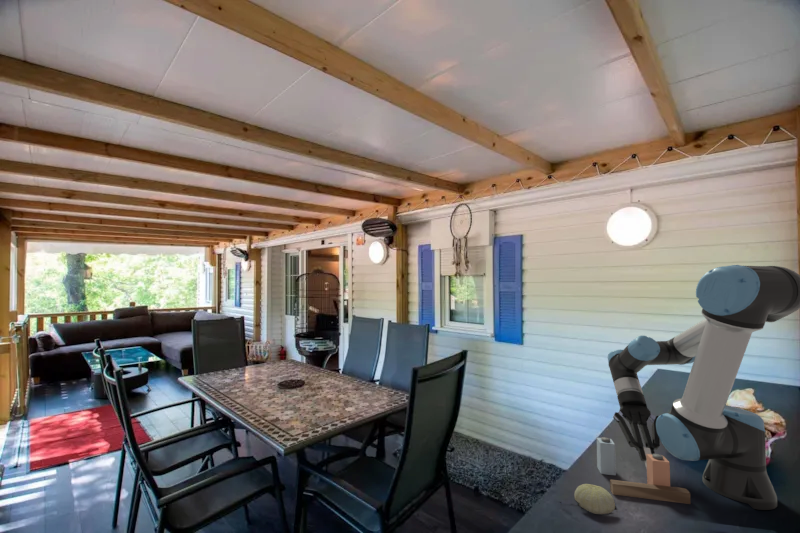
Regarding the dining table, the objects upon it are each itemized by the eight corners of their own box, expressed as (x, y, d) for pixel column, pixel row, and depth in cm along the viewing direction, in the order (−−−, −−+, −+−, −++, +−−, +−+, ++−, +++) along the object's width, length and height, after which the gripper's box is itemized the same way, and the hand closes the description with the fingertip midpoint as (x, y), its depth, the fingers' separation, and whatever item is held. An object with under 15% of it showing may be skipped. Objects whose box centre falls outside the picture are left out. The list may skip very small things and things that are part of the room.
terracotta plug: (647, 486, 102) (646, 451, 103) (663, 488, 101) (662, 453, 102) (653, 494, 98) (652, 458, 99) (670, 497, 97) (669, 459, 98)
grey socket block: (597, 467, 113) (596, 435, 114) (611, 468, 112) (610, 436, 113) (601, 473, 109) (600, 440, 110) (615, 475, 108) (615, 442, 109)
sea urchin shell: (575, 484, 103) (597, 470, 99) (598, 512, 99) (622, 499, 95) (566, 498, 96) (590, 484, 92) (590, 530, 92) (616, 516, 88)
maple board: (596, 469, 114) (596, 456, 114) (662, 477, 110) (662, 463, 110) (612, 499, 99) (612, 483, 99) (690, 509, 94) (690, 493, 94)
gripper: (649, 402, 121) (674, 481, 104) (605, 398, 124) (623, 475, 107) (656, 390, 116) (683, 471, 99) (610, 387, 119) (629, 465, 102)
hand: (652, 473), depth 103 cm, fingers closed
